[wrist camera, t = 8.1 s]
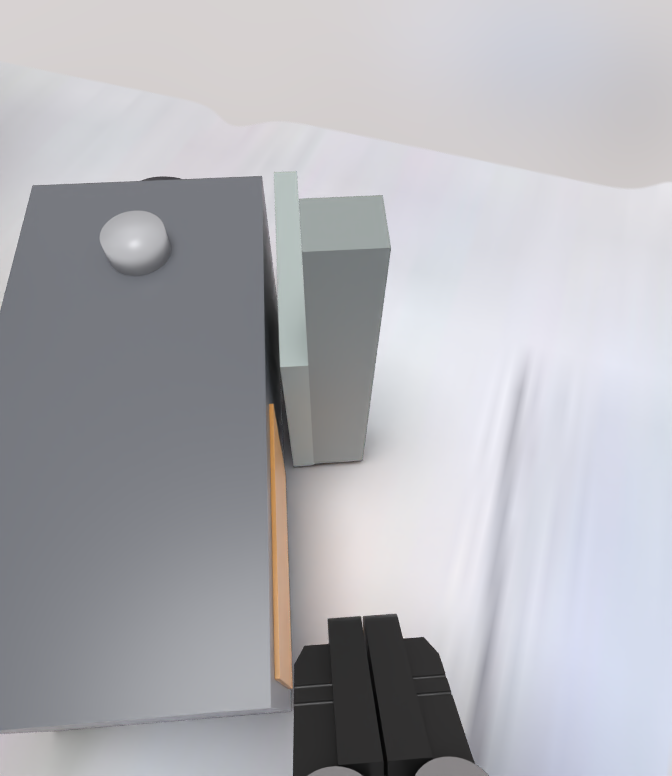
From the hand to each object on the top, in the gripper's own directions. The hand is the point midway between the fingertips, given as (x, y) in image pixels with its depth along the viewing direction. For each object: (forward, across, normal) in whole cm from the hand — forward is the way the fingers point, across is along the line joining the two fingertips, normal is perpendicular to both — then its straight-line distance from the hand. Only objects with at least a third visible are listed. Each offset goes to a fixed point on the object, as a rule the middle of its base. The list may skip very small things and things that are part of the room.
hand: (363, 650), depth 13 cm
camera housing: (+16, -7, -3) cm, 18 cm away
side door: (+20, 0, +1) cm, 20 cm away
